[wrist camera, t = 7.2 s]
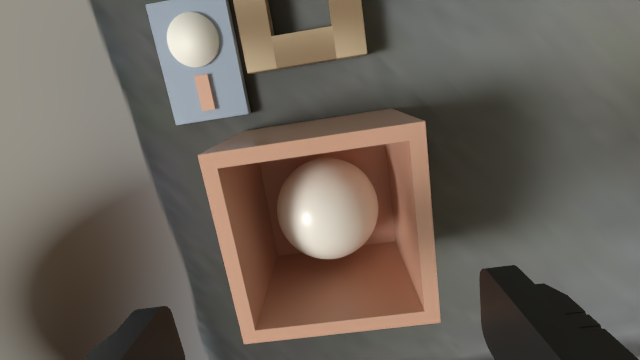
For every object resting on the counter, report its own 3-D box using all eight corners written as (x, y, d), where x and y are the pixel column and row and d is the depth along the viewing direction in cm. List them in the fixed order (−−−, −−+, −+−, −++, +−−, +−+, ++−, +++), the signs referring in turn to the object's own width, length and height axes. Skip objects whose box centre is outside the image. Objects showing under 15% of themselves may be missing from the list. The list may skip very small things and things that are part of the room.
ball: (276, 156, 19) (258, 180, 15) (366, 143, 19) (378, 162, 14) (292, 238, 21) (279, 285, 16) (376, 228, 20) (391, 272, 16)
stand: (228, -53, 17) (220, -63, 16) (349, -76, 17) (351, -88, 16) (252, 73, 19) (247, 73, 18) (364, 55, 18) (367, 53, 17)
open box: (243, 131, 20) (197, 155, 13) (391, 108, 19) (425, 120, 12) (271, 263, 22) (243, 344, 15) (405, 246, 21) (440, 322, 14)
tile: (151, 7, 18) (143, 3, 17) (227, -7, 18) (222, -11, 17) (180, 124, 20) (174, 125, 19) (250, 113, 19) (247, 114, 18)
